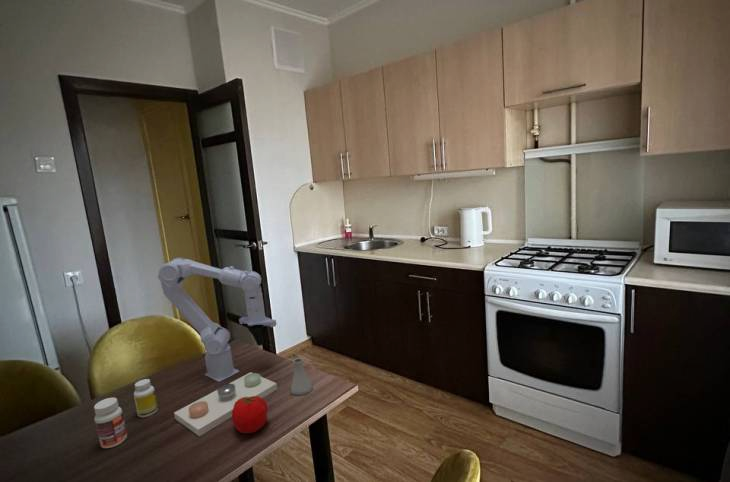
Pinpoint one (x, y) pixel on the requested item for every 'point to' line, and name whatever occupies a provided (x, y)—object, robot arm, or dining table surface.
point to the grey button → (226, 390)
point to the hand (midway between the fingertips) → (260, 344)
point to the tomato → (249, 414)
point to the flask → (300, 379)
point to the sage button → (252, 379)
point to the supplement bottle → (145, 398)
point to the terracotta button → (198, 409)
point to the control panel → (222, 405)
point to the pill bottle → (109, 423)
